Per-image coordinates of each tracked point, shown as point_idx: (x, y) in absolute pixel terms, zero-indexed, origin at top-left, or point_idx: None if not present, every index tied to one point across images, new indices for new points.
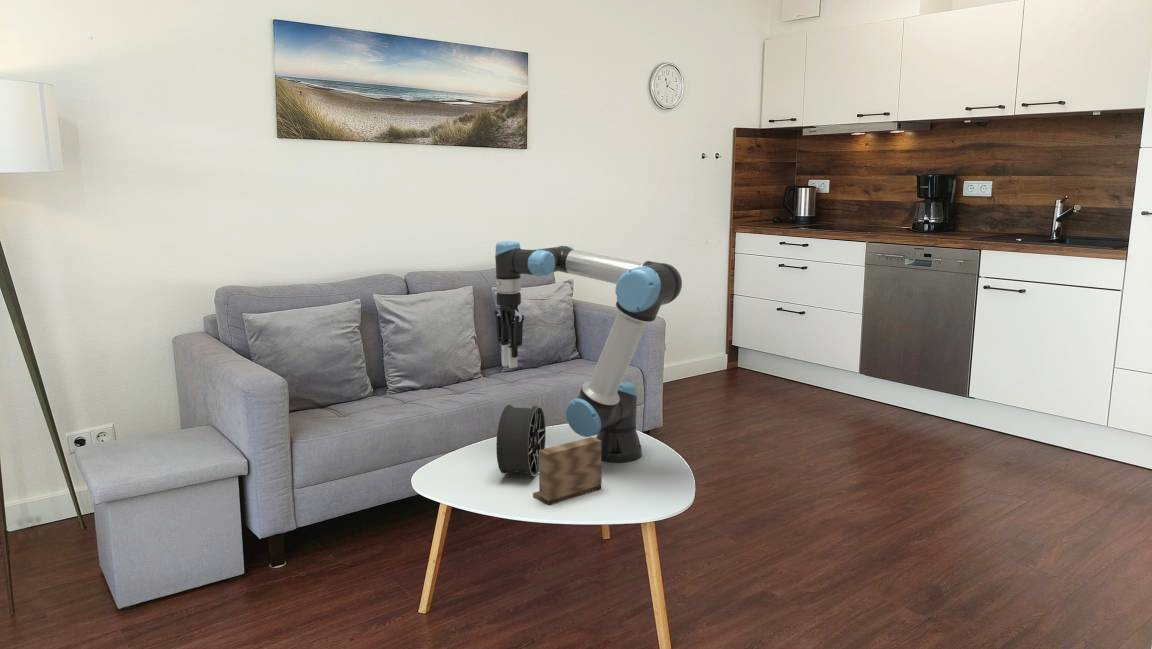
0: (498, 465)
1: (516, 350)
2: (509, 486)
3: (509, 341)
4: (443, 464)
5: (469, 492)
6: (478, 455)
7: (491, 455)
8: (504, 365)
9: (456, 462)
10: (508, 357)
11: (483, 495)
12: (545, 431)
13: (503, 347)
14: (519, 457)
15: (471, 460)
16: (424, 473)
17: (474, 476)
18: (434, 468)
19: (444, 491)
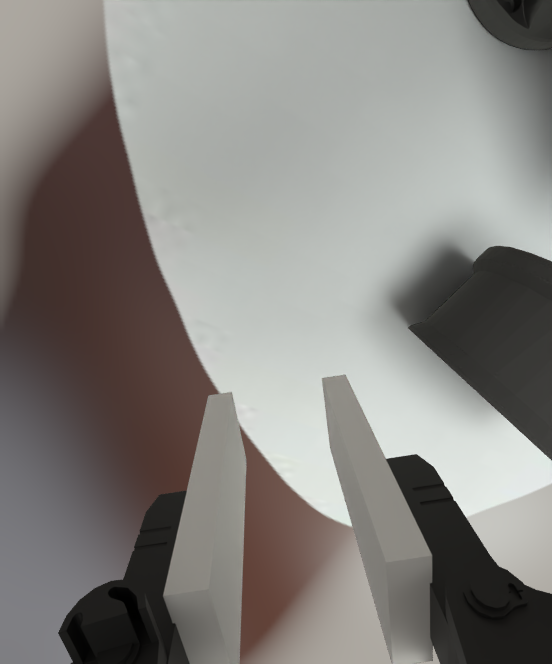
0: (518, 429)
1: (471, 543)
2: None
3: (86, 627)
4: (300, 470)
5: (497, 474)
6: (282, 379)
7: (301, 349)
8: (244, 458)
9: (303, 442)
10: (231, 468)
11: (532, 456)
12: (512, 249)
13: (238, 657)
14: None
15: (310, 407)
16: (333, 517)
17: (419, 437)
18: (314, 493)
19: None
